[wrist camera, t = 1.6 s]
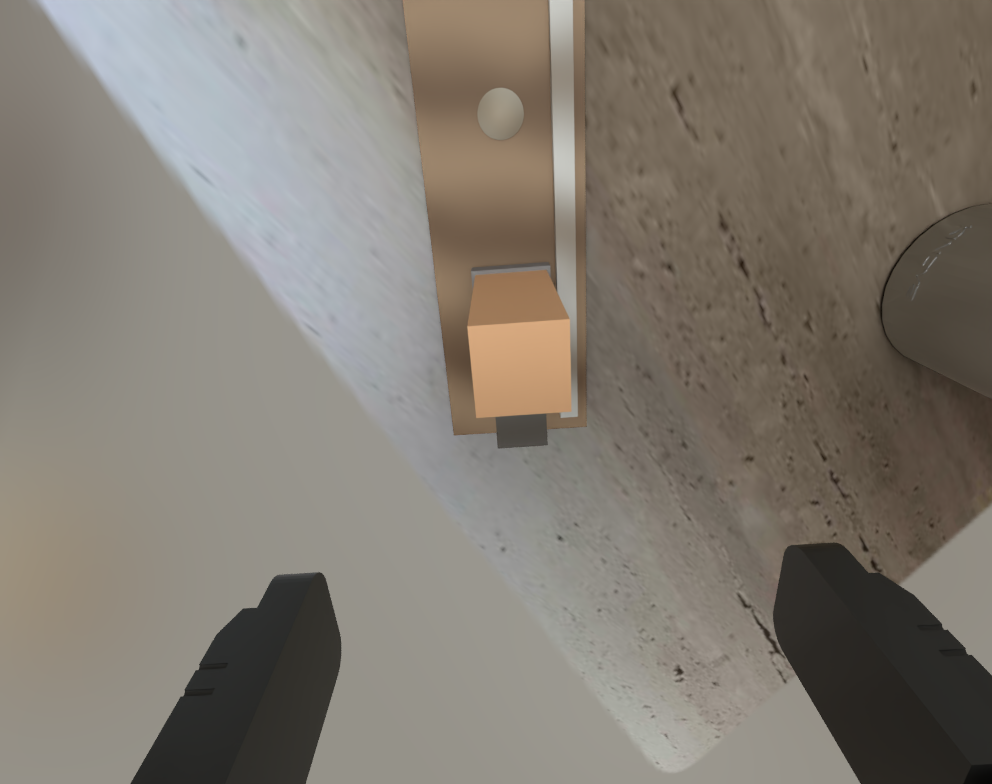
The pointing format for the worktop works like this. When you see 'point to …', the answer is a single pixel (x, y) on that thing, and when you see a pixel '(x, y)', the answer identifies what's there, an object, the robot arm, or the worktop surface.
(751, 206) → the worktop surface
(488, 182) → the wooden slider board
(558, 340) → the block
